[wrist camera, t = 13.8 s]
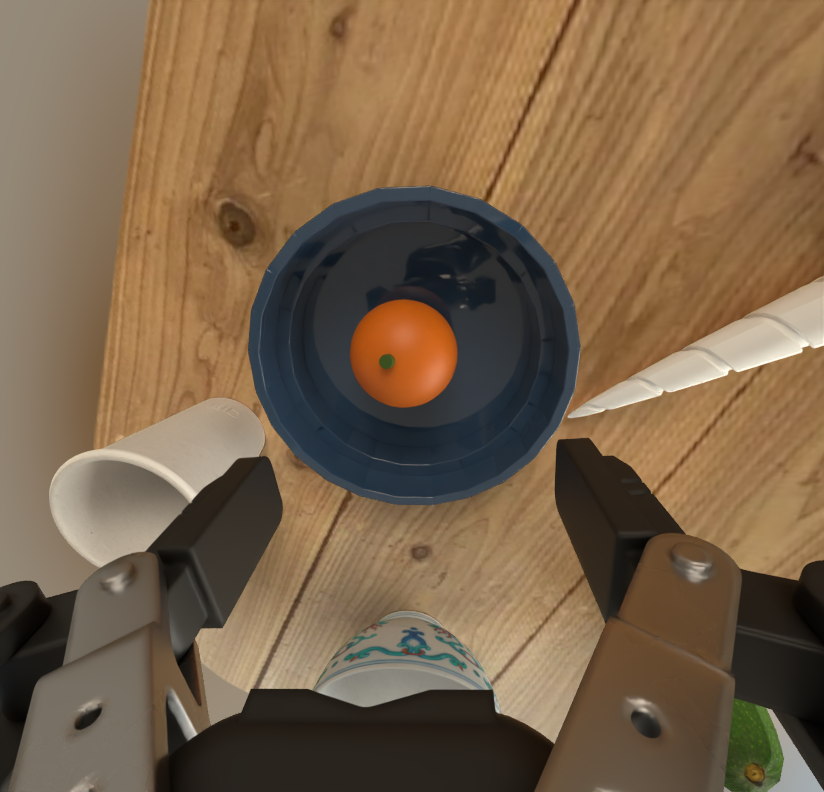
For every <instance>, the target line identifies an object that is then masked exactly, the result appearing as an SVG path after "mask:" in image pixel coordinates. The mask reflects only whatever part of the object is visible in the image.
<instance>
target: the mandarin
mask: <svg viewBox="0 0 824 792" xmlns="http://www.w3.org/2000/svg"><path fill="white" fill-rule="evenodd" d="M457 356H458V352H457V343H456V339H455V336H454V333H453V331H452V329H451V327H450V325H449V324H448V322H447V321H446V319H445V318H444V317H443V316H442V315H441V314H440V313H439V312H438V311H436V310H435V309H433V308H432V307H430V306H428V305H426V304H424V303H421V302H418V301H414V300H406V299H402V300H393V301H389V302H386V303H383V304H381V305H379V306H377V307H375V308H374V309H373V310H371V311H370V312H369V313H368V314H366V315H365V316H364V317H363V319H362V320H361V321H360V323H359V324H358V326H357V328H356V330H355V332H354V334H353V337H352V341H351V346H350V361H351V366H352V370H353V373H354V375H355V377H356V379H357V381H358V383H359V384H360V386H361V387H362V388H363V389H364V390H365V391H366V392H367V393H368V394H369V395H370V396H371V397H373V398H374V399H376V400H377V401H379V402H381V403H384V404H386V405H389V406H393V407H400V408H407V407H414V406H419V405H422V404H424V403H427V402H429V401H430V400H432V399H434V398H435V397H436V396H438V395H439V394H440V393H441V392H442V391H443V390H444V389H445V388H446V386H447V385H448V384H449V382H450V380H451V378H452V376H453V374H454V371H455V369H456V364H457Z"/></svg>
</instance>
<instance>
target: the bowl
mask: <svg viewBox="0 0 824 792" xmlns="http://www.w3.org/2000/svg"><path fill="white" fill-rule="evenodd" d="M402 299H406V300H414V301H418V302H421V303H424V304H426V305H428V306H430V307H432V308H433V309H435V310H436V311H438V312H439V313H440V314H441V315H442V316H443V317H444V318H445V319H446V321H447V322H448V324H449V325H450V327H451V329H452V331H453V333H454V336H455V339H456V343H457V352H458V356H457V364H456V369H455V371H454V374H453V376H452V378H451V380H450V382H449V384H448V385H447V386H446V388H445V389H444V390H443V391H442V392H441V393H440V394H439V395H438V396H436V397H435V398H434V399H432V400H430V401H429V402H427V403H424V404H422V405H419V406H414V407H407V408H400V407H393V406H389V405H386V404H384V403H381V402H379V401H377V400H376V399H374V398H373V397H371V396H370V395H369V394H368V393H367V392H366V391H365V390H364V389H363V388H362V387H361V386H360V384H359V383H358V381H357V379H356V377H355V375H354V373H353V370H352V366H351V361H350V346H351V341H352V337H353V334H354V332H355V330H356V328H357V326H358V324H359V323H360V321H361V320H362V319H363V317H364V316H365V315H366V314H368V313H369V312H370V311H371V310H373V309H374V308H375V307H377V306H379V305H381V304H383V303H386V302H389V301H393V300H402ZM580 348H581V346H580V339H579V332H578V325H577V318H576V311H575V305H574V302H573V299H572V297H571V295H570V293H569V291H568V289H567V286H566V284H565V282H564V280H563V278H562V275H561V273H560V271H559V269H558V267H557V265H556V263H555V262H554V260H553V259H552V258H551V256H550V255H549V254H548V253H547V252H546V251H545V250H544V249H543V247H542V246H541V245H540V244H539V243H538V242H537V241H536V240H535V238H534V237H533V236H532V235H531V234H530V233H529V232H528V230H527V229H526V228H525V227H524V226H522V224H520V223H519V222H517V221H515V220H514V219H512V218H511V217H509V216H507V215H506V214H504V213H502V212H501V211H499V210H498V209H496V208H494V207H493V206H491V205H489V204H488V203H486V202H485V201H483V200H481V199H480V200H479V198H476V197H472V196H468V195H464V194H461V193H457V192H453V191H449V190H445V189H442V188H438V187H434V186H407V187H381V188H377V189H374V190H371V191H368V192H365V193H362V194H359V195H356V196H354V197H351V198H348V199H345V200H342V201H339V202H336V203H334V204H332V205H330V206H329V207H328V208H326V209H325V210H324V211H322V212H321V213H319V214H318V215H317V216H315V217H314V218H313V219H311V220H310V221H308V222H307V223H306V224H304V225H303V226H302V227H300V228H299V229H298V230H296V231H295V233H293V234H292V235H291V237H290V238H289V239H288V241H287V242H286V243H285V245H284V246H283V247H282V249H281V250H280V251H279V253H278V254H277V255H276V257H275V258H274V259H273V261H272V262H271V263H270V265H269V266H268V267H267V269H266V271H265V274H264V277H263V279H262V282H261V285H260V287H259V290H258V293H257V296H256V298H255V301H254V304H253V306H252V310H251V319H250V332H249V345H248V354H249V359H250V364H251V369H252V374H253V380H254V385H255V390H256V393H257V395H258V398H259V400H260V402H261V404H262V406H263V408H264V410H265V412H266V414H267V417H268V419H269V421H270V423H271V425H272V427H273V428H274V429H275V431H276V432H277V433H278V434H279V436H280V437H281V438H282V439H283V441H284V442H285V443H286V444H287V445H288V447H289V448H290V449H291V450H292V452H293V453H294V454H295V455H296V456H297V457H298V458H299V459H300V460H301V461H303V462H304V463H305V464H306V465H308V466H309V467H310V468H312V469H313V470H314V471H315V472H317V473H318V474H319V475H321V476H322V477H323V478H324V479H327V481H329V482H331V483H333V484H336V485H338V486H340V487H342V488H344V489H346V490H348V491H350V492H352V493H354V494H356V495H359V496H361V497H366V498H370V499H374V500H379V501H383V502H387V503H391V504H396V505H436V504H441V503H446V502H451V501H456V500H461V499H465V498H469V497H472V496H474V495H477V494H479V493H481V492H483V491H485V490H488V489H490V488H492V487H494V486H496V485H499V484H501V483H503V482H505V481H506V480H507V479H509V478H510V477H511V476H513V475H514V474H515V473H516V472H518V471H519V470H520V469H522V468H523V467H524V466H526V465H527V464H528V463H529V462H531V461H532V460H533V459H534V458H535V457H536V456H537V455H538V453H539V452H540V451H541V449H542V448H543V447H544V446H545V444H546V443H547V442H548V441H549V439H550V438H551V437H552V436H553V434H554V433H555V432H556V431H557V429H558V427H559V426H560V424H561V421H562V419H563V417H564V414H565V412H566V410H567V407H568V405H569V403H570V401H571V398H572V396H573V394H574V390H575V386H576V379H577V372H578V365H579V358H580V351H581V349H580Z"/></svg>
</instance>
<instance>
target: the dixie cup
mask: <svg viewBox="0 0 824 792" xmlns="http://www.w3.org/2000/svg"><path fill="white" fill-rule="evenodd" d="M264 444H265V433H264V429H263V426H262V424H261V422H260V420H259V419H258V417H257V416H256V415H255V414H254V413H253V412H252V411H251V410H250V409H249V408H248V407H246V406H245V405H243V404H242V403H240V402H238V401H235V400H232V399H229V398H221V397H218V398H211V399H207V400H205V401H203V402H201V403H198V404H196V405H194V406H192V407H190V408H188V409H186V410H183V411H181V412H179V413H177V414H175V415H173V416H171V417H168V418H166V419H164V420H162V421H160V422H158V423H156V424H153V425H151V426H149V427H147V428H145V429H143V430H141V431H138V432H136V433H134V434H132V435H130V436H128V437H126V438H123V439H121V440H119V441H117V442H115V443H113V444H110V445H108V446H106V447H104V448H102V449H99V450H92V451H88V452H84V453H81V454H79V455H77V456H74V457H73V458H71V459H69V460H68V461H67V462H65V463H64V464H63V465H62V466H61V467H60V468H59V469H58V471H57V472H56V474H55V475H54V478H53V480H52V483H51V486H50V492H49V501H50V508H51V512H52V516H53V518H54V521H55V523H56V525H57V527H58V529H59V531H60V532H61V534H62V535H63V537H64V538H65V539H66V541H67V542H68V543H69V544H70V545H71V546H72V547H73V548H74V549H75V550H76V551H77V552H78V553H79V554H80V555H81V556H83V557H84V558H85V559H87V560H88V561H89V562H91V563H92V564H94V565H96V566H97V567H99V568H101V567H103V566H104V565H106V564H107V563H109V562H111V561H113V560H115V559H117V558H119V557H122V556H125V555H127V554H131V553H135V552H145V551H146V550H147V549H148V548H149V546H150V545H151V544H152V543H153V542H154V541H155V540H156V539H157V538H158V537H159V536H160V534H161V533H162V532H163V531H164V530H165V529H166V528H167V527H168V526H169V525H170V524H171V523H172V521H173V520H174V519H175V518H176V517H177V516H178V515H179V514H182V511H183V509H184V508H185V507H186V506H187V505H188V504H189V503H192V500H193V499H194V497H195V496H196V495H197V494H198V493H199V492H200V491H201V490H202V489H203V488H204V487H205V486H207V485H208V484H210V483H211V482H213V481H214V480H216V479H217V478H219V477H220V476H223V474H224V473H225V472H226V471H227V470H228V469H229V468H230V466H231V465H232V464H233V463H234V462H235V461H236V460H237V459H238V458H246V457H258V456H259V455H260V453H261V451H262V449H263V447H264Z"/></svg>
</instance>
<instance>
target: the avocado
mask: <svg viewBox="0 0 824 792" xmlns="http://www.w3.org/2000/svg"><path fill="white" fill-rule="evenodd" d="M783 760H784V758H783V753H782V749H781V745H780V742H779V739H778V735H777V732H776V729H775V727H774V725H773V722H772V720H771V718H770V716H769V713H768V711H767V709H766V708H765V707H762V706H759V705H755V704H752V703H749V702H746V701H742V700H739V699H736V698H734V700H733V709H732V718H731V727H730V736H729V745H728V754H727V763H726V772H725V781H724V787H726V788H727V789H729V790H730V791H732V792H767V791H768V790H769V789H770V788H772V787H773V786H774V785H775V784H777V783H778V782H779V781H780V777H781V772H782V766H783Z"/></svg>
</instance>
